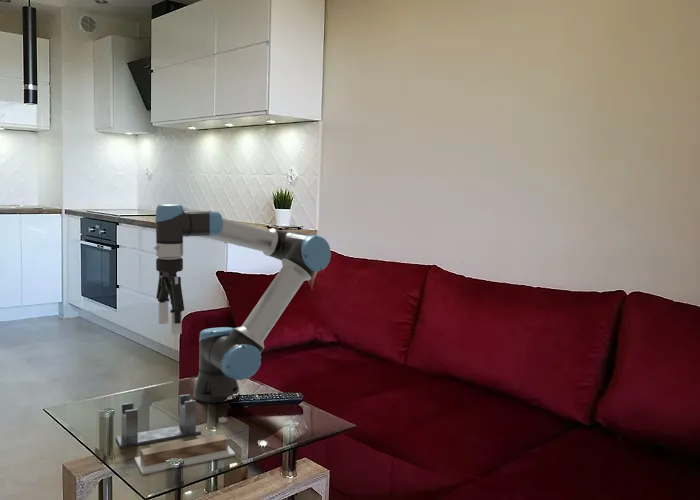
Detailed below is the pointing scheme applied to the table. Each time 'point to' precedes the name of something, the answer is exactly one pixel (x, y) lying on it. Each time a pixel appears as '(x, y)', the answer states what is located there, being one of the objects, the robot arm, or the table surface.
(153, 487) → the table surface
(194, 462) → the mat
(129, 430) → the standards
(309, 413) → the table surface
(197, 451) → the rail
